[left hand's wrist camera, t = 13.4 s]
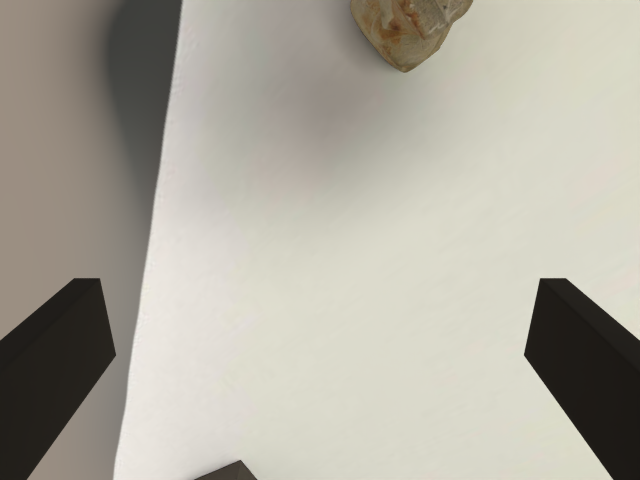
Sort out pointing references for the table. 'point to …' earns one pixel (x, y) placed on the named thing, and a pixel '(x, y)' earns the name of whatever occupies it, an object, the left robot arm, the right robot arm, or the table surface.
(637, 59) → the table surface
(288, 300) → the table surface
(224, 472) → the box
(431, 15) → the sculpture
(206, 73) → the table surface
